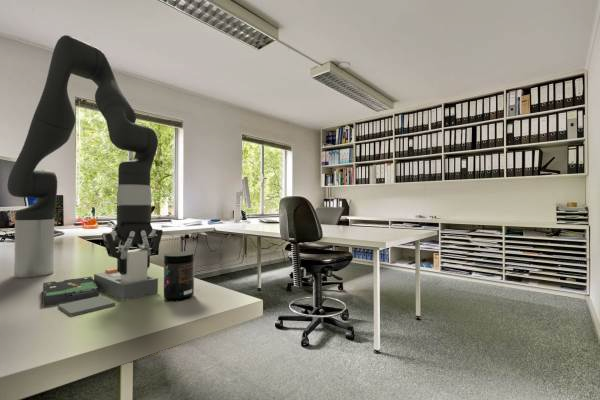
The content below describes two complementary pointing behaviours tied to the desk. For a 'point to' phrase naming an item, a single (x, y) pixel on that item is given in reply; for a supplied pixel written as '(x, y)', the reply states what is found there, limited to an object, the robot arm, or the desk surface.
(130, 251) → the charger
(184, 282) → the supplement container
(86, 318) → the desk surface
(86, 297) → the disk drive
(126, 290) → the desk organizer
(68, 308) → the mat
